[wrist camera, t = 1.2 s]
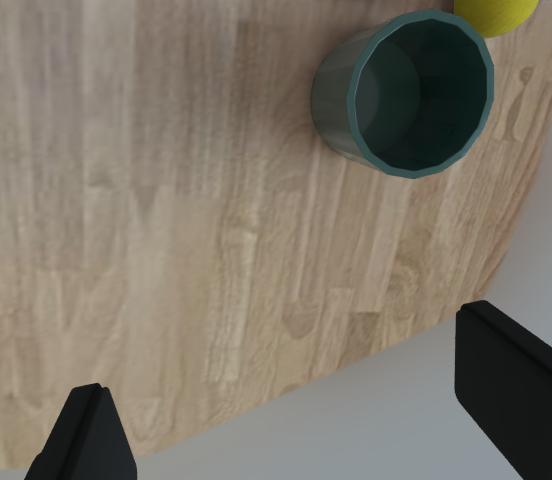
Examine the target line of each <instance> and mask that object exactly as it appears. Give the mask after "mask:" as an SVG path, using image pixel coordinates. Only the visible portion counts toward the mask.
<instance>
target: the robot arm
mask: <svg viewBox="0 0 552 480" xmlns="http://www.w3.org/2000/svg"><path fill="white" fill-rule="evenodd" d="M454 388H455V394H456V397H457V399H458V401H459V402H460V404H461V405H462V406H463V407H464V409H465V410H466V411H467V412H468V413H469V415H470V416H471V417H472V418H473V420H474V421H475V422H476V423H477V424H478V426H479V427H480V428H481V429H482V430H483V432H484V433H485V434H486V435H487V436H488V437H489V439H490V440H491V441H492V442H493V444H494V445H495V446H496V447H497V448H498V450H499V451H500V452H501V453H502V454H503V455H504V456H505V458H506V459H507V460H508V462H509V463H510V464H511V465H512V466H513V468H514V469H515V470H516V471H517V472H518V474H519V475H520V476H521V477H522V478H523V480H552V347H551V346H549V345H548V344H546V343H545V342H544V341H542V340H541V339H539V338H538V337H537V336H535V335H534V334H532V333H531V332H530V331H528V330H527V329H526V328H524V327H523V326H521V325H520V324H519V323H517V322H516V321H514V320H513V319H511V318H510V317H509V316H507V315H506V314H504V313H503V312H502V311H500V310H499V309H497V308H496V307H495V306H493V305H492V304H490V303H489V302H488V301H485V300H480V301H476V302H471V303H466V304H463V305H462V306H461V309H460V311H457V313H456V335H455V387H454ZM24 480H137V467H136V463H135V460H134V458H133V455H132V452H131V449H130V446H129V443H128V441H127V438H126V435H125V432H124V429H123V427H122V424H121V421H120V418H119V415H118V413H117V410H116V407H115V404H114V401H113V398H112V396H111V393H110V390H109V389H108V387H103V388H102V387H101V385H100V384H99V383H94V384H89V385H85V386H80V387H75V388H73V389H72V391H71V392H70V394H69V396H68V398H67V400H66V402H65V404H64V407H63V409H62V411H61V413H60V415H59V417H58V419H57V421H56V423H55V425H54V427H53V429H52V431H51V434H50V436H49V438H48V440H47V442H46V444H45V446H44V448H43V450H42V452H41V453H40V454H38V455H37V456H36V458H35V459H34V461H33V463H32V465H31V467H30V469H29V471H28V473H27V475H26V477H25V479H24Z"/></svg>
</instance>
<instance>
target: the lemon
mask: <svg viewBox="0 0 552 480" xmlns="http://www.w3.org/2000/svg"><path fill="white" fill-rule="evenodd" d="M538 1H539V0H455V1H454V8H453V12H454V15H457V16H461V17H462V18H463V19H464V20H465V21H466V22H467V23H468V24H469V25H471V26H472V27H473V28H474V29H475V30H476V31H477V32H478V33H479V34H480V35H481V36H482V37H483V38H491V37H495V36H499V35H502V34H505V33H507V32H509V31H510V30H512V29H514V28H516V27H517V26H519V25H520V24H521V23H522V22H524V21H525V20H526V19H527V18H528V17H529V16H530V14H531V13H532V12H533V10H534V9H535V7H536V5H537V3H538Z"/></svg>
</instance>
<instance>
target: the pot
mask: <svg viewBox="0 0 552 480" xmlns="http://www.w3.org/2000/svg"><path fill="white" fill-rule="evenodd" d="M493 101H494V65H493V62H492V60H491V57H490V54H489V52H488V49H487V46H486V44H485V41H484V39H483V37H482V36H481V35H480V34H479V33H478V32H477V31H476V30H475V29H474V28H473V27H472V26H471V25H469V24H468V23H467V22H466V21H465V20H464V19H463V18H462V17H461V16H457V15H454V14H450V13H447V12H443V11H440V10H436V9H427V10H422V11H417V12H412V13H408V14H403V15H400V16H398V17H395V18H393V19H390V20H388V21H386V22H383V23H381V24H378V25H376V26H374V27H371V28H369V29H367V30H364V31H362V32H359V33H357V34H355V35H352V36H350V37H349V38H347V39H346V40H345V41H343V42H341V43H340V44H338V45H337V46H336V47H335V48H334V49H332V50H331V51H330V52H329V54H328V55H327V56H326V57H325V59H324V60H323V62H322V63H321V65H320V67H319V69H318V70H317V73H316V75H315V78H314V81H313V85H312V90H311V113H312V117H313V121H314V124H315V127H316V129H317V131H318V133H319V135H320V136H321V137H322V139H323V140H324V141H325V143H326V144H327V145H328V146H329V147H331V148H332V149H333V150H334V151H336V152H338V153H339V154H341V155H342V156H344V157H345V158H348V159H350V160H353V161H355V162H358V163H360V164H363V165H365V166H368V167H370V168H373V169H375V170H378V171H380V172H383V173H385V174H388V175H393V176H399V177H404V178H410V179H416V178H420V177H424V176H428V175H432V174H436V173H440V172H442V171H443V170H445V169H446V168H448V167H449V166H451V165H452V164H453V163H455V162H456V161H458V160H459V159H461V158H462V157H463V156H465V154H466V153H467V152H468V151H469V149H470V148H471V147H472V145H473V144H474V142H475V141H476V140H477V138H478V137H479V136H480V134H481V133H482V131H483V129H484V128H485V125H486V122H487V119H488V116H489V113H490V110H491V107H492V104H493Z"/></svg>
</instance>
